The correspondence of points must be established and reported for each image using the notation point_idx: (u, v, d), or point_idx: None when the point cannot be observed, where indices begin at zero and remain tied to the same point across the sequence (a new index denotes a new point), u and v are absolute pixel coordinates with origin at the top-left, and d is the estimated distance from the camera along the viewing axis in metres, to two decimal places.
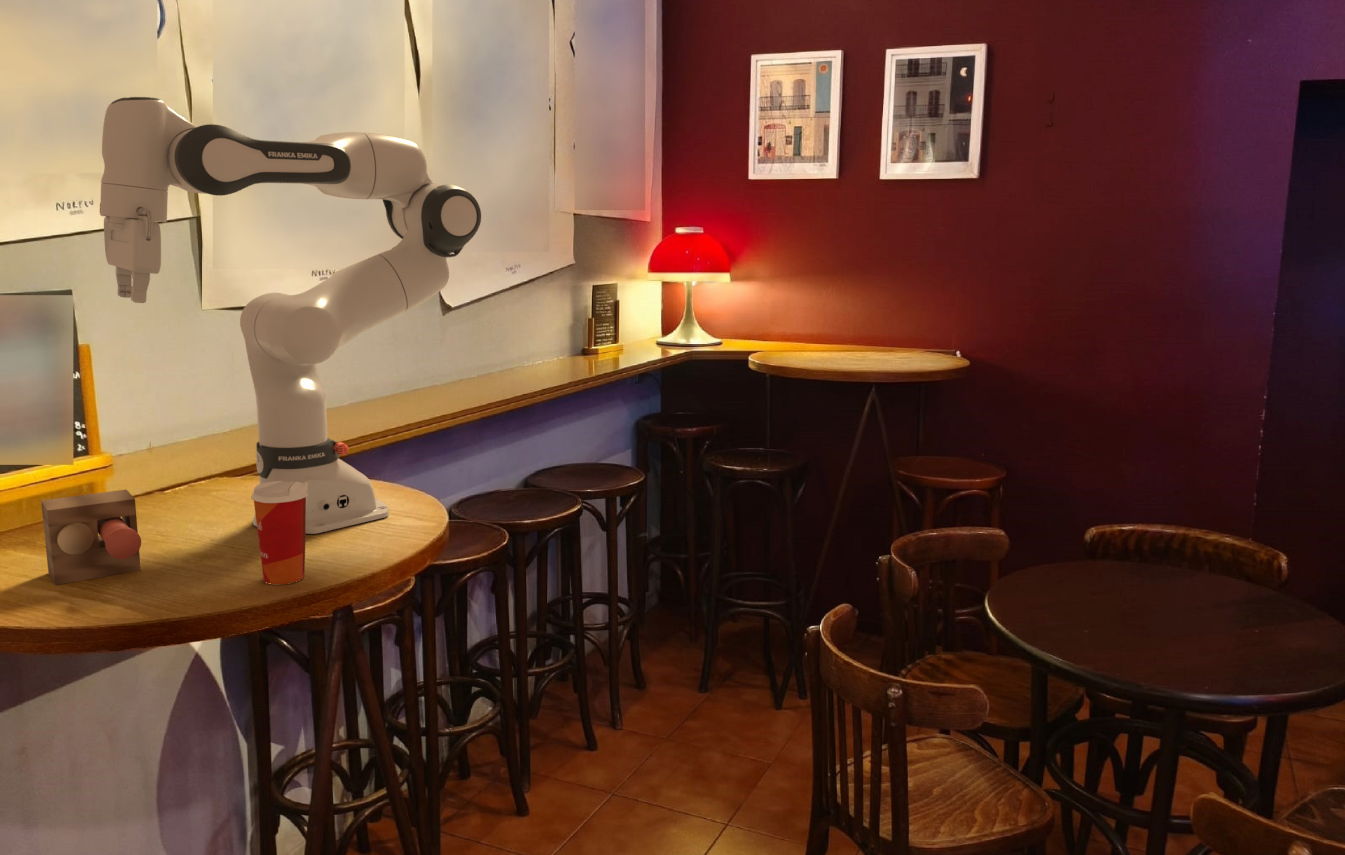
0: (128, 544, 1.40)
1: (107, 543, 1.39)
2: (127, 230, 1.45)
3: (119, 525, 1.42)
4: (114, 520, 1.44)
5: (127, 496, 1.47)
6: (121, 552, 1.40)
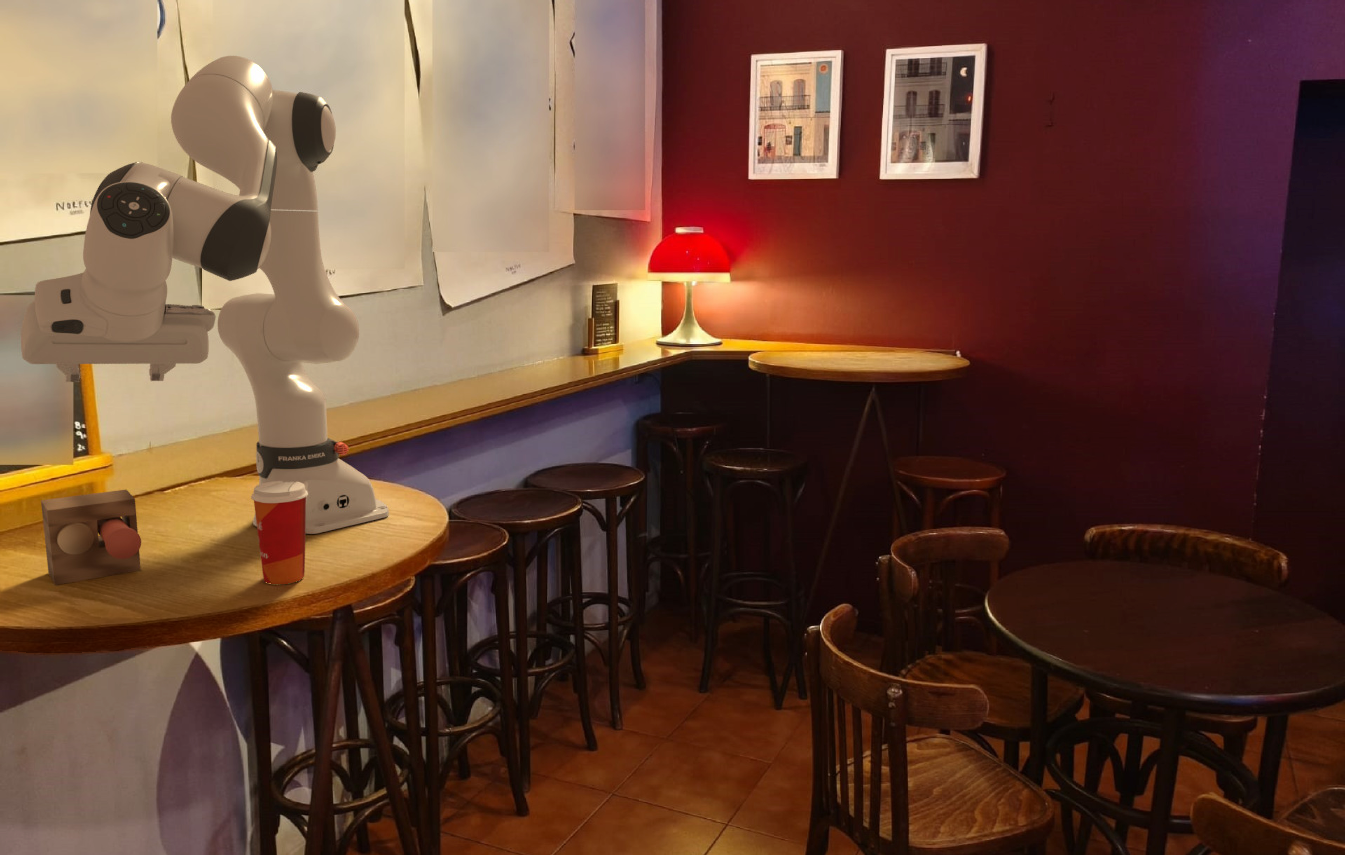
0: (128, 544, 1.40)
1: (107, 543, 1.39)
2: (169, 335, 1.23)
3: (119, 525, 1.42)
4: (114, 520, 1.44)
5: (127, 496, 1.47)
6: (121, 552, 1.40)
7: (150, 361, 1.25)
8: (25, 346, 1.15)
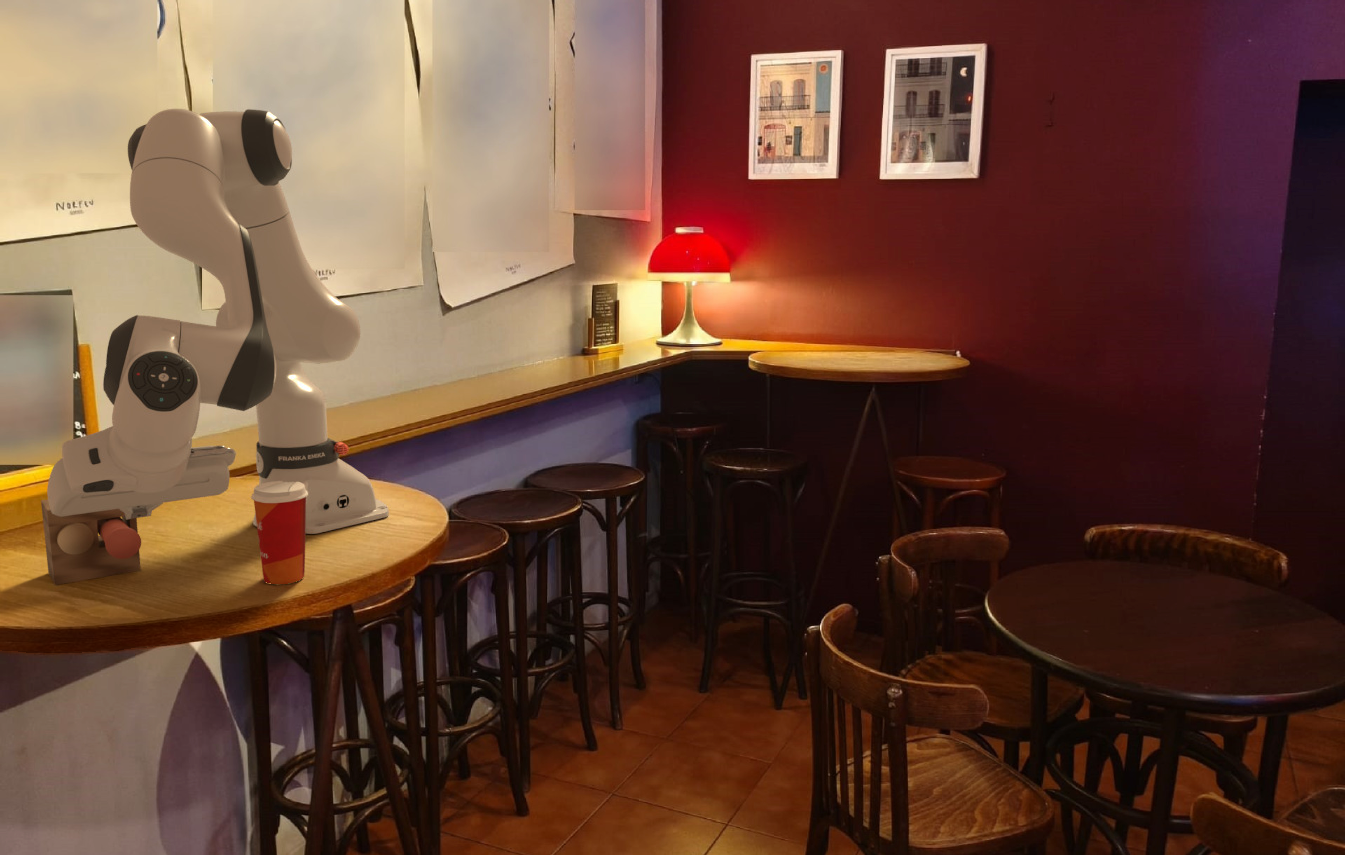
0: (128, 544, 1.40)
1: (107, 543, 1.39)
2: (192, 477, 1.26)
3: (119, 525, 1.42)
4: (114, 520, 1.44)
5: None
6: (121, 552, 1.40)
7: (173, 499, 1.28)
8: (55, 504, 1.18)
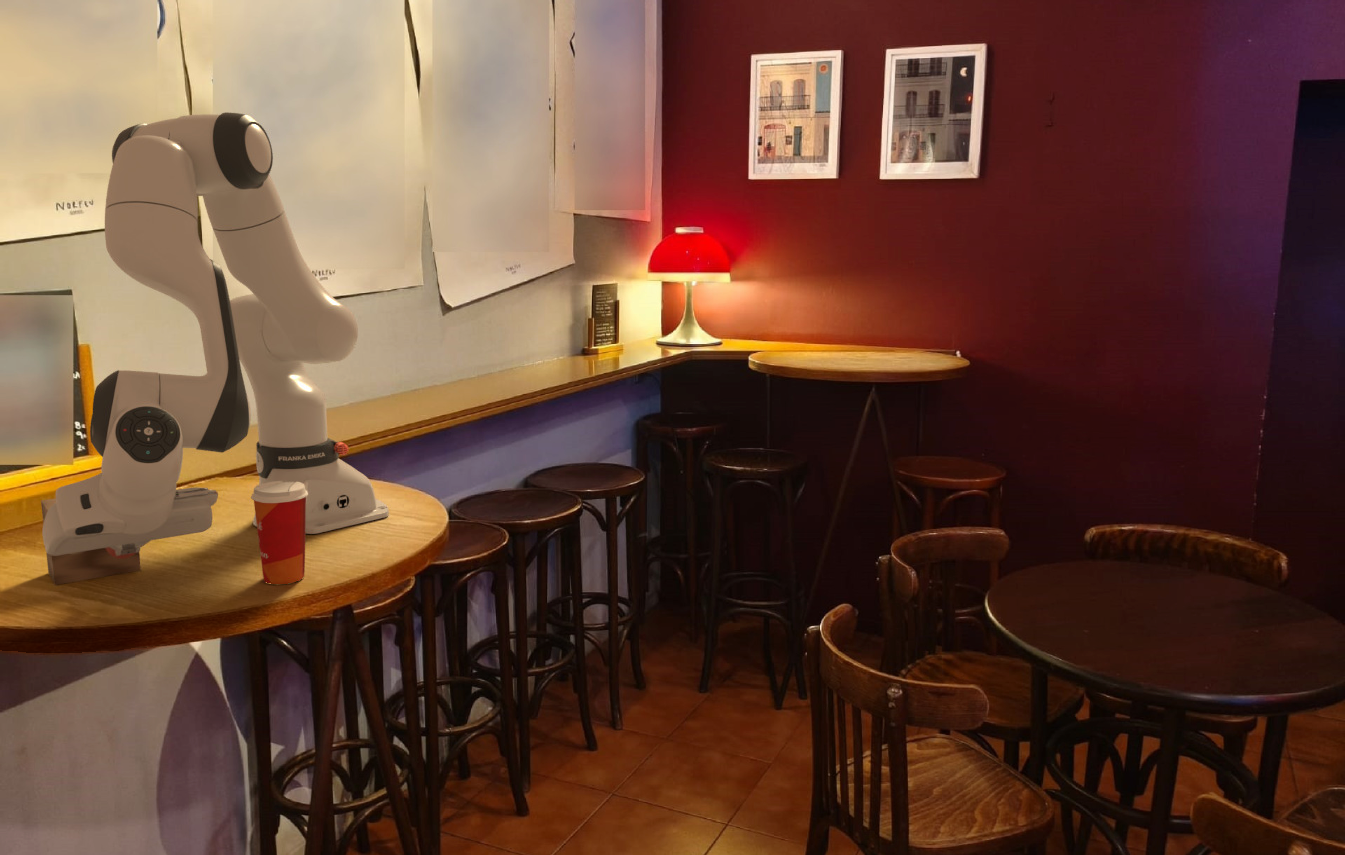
0: None
1: None
2: (177, 517, 1.35)
3: None
4: None
5: None
6: None
7: (160, 537, 1.38)
8: (50, 545, 1.27)
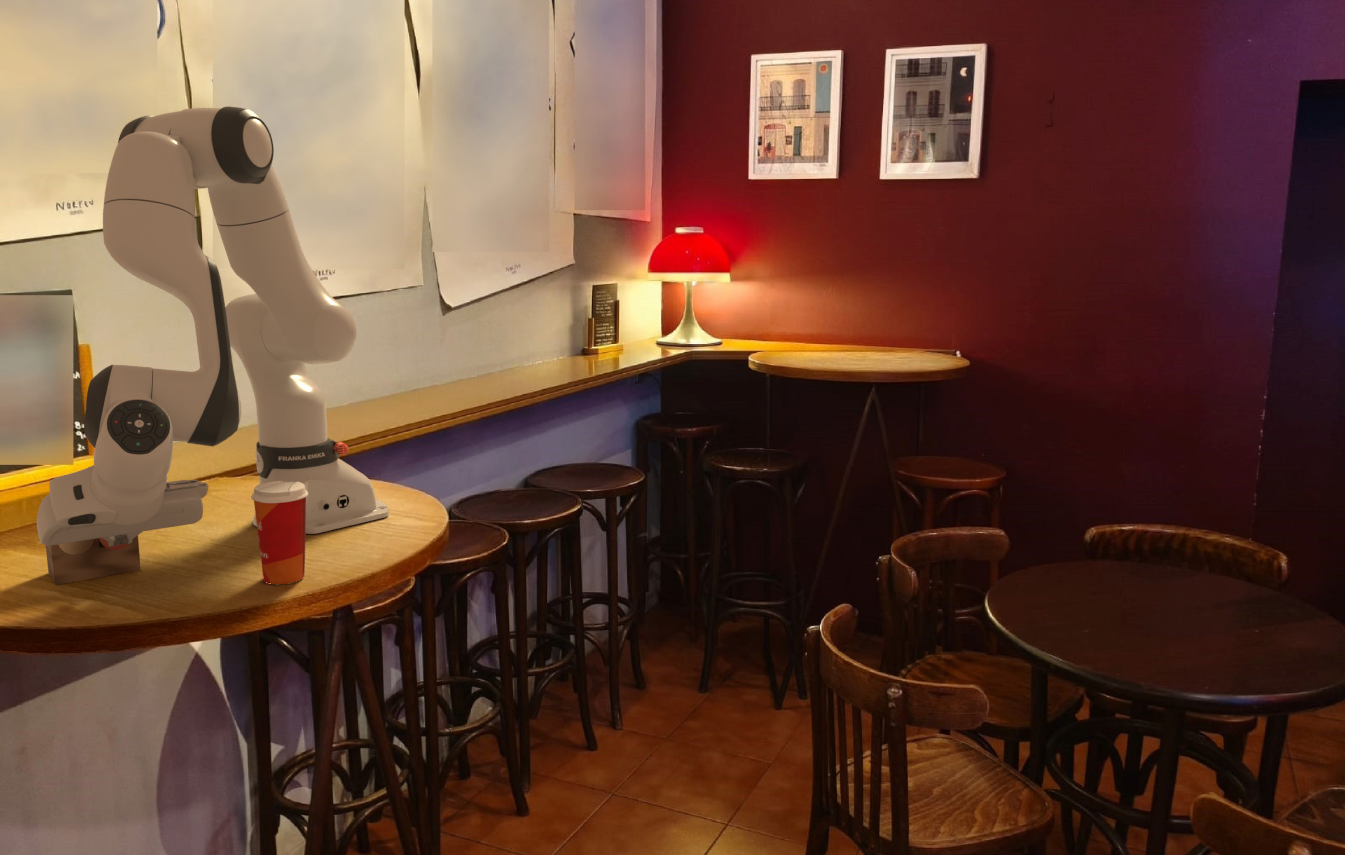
0: None
1: None
2: (168, 509, 1.39)
3: None
4: None
5: None
6: None
7: (152, 528, 1.41)
8: (43, 535, 1.31)
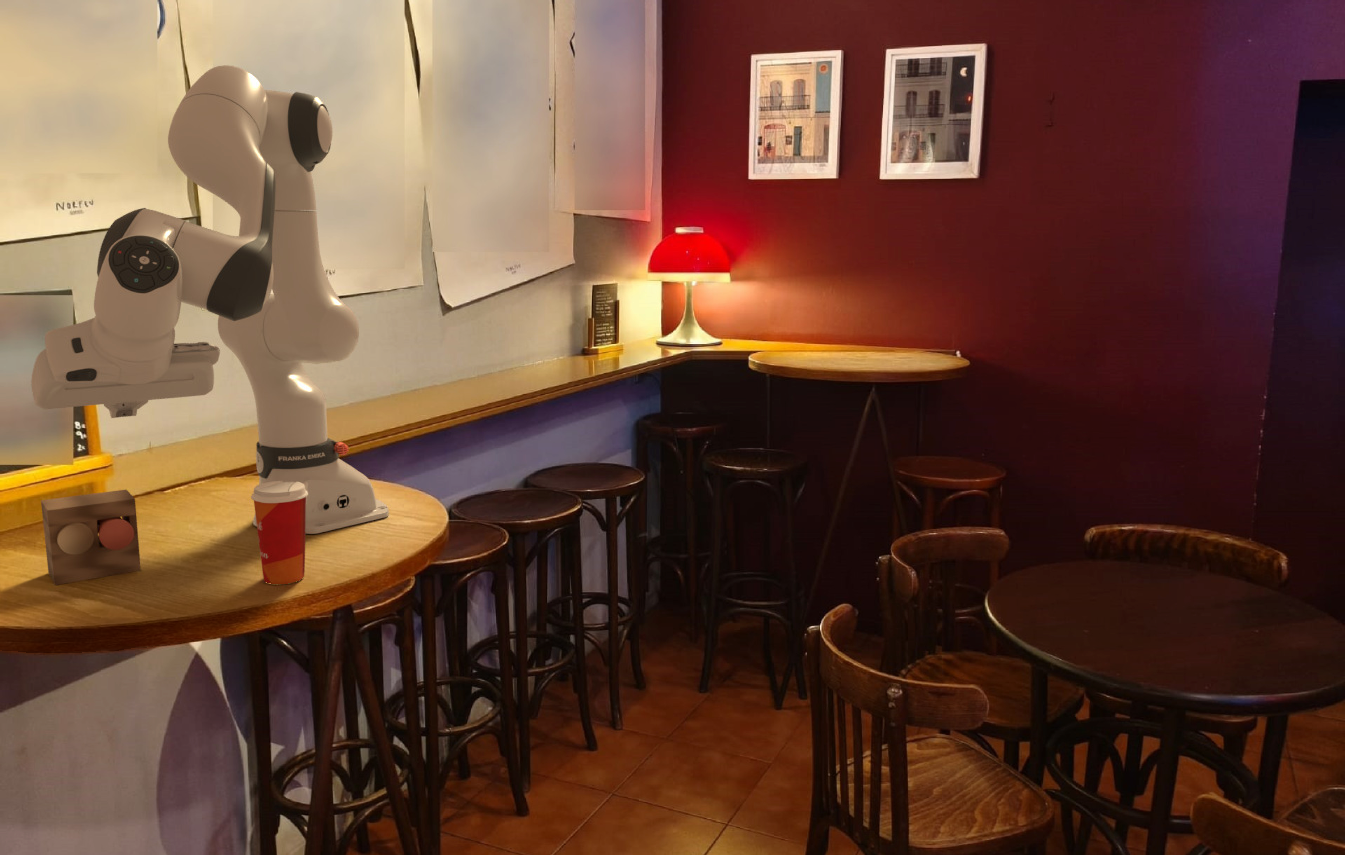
0: (121, 535, 1.44)
1: (101, 534, 1.42)
2: (176, 373, 1.26)
3: None
4: None
5: (127, 496, 1.47)
6: (114, 543, 1.44)
7: (158, 397, 1.28)
8: (39, 394, 1.18)
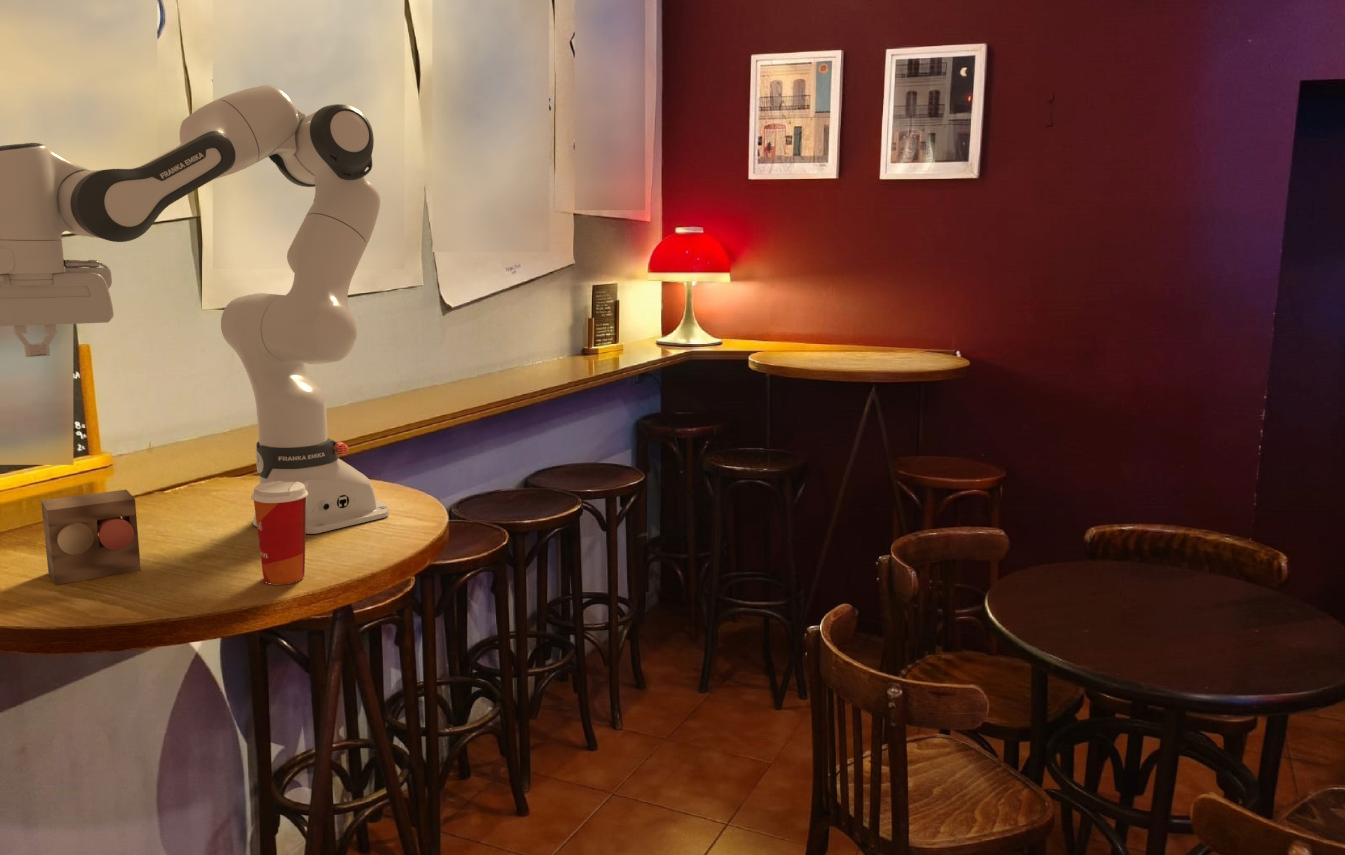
0: (121, 535, 1.44)
1: (101, 534, 1.42)
2: (72, 284, 1.45)
3: None
4: None
5: (127, 496, 1.47)
6: (114, 543, 1.44)
7: (63, 319, 1.45)
8: None
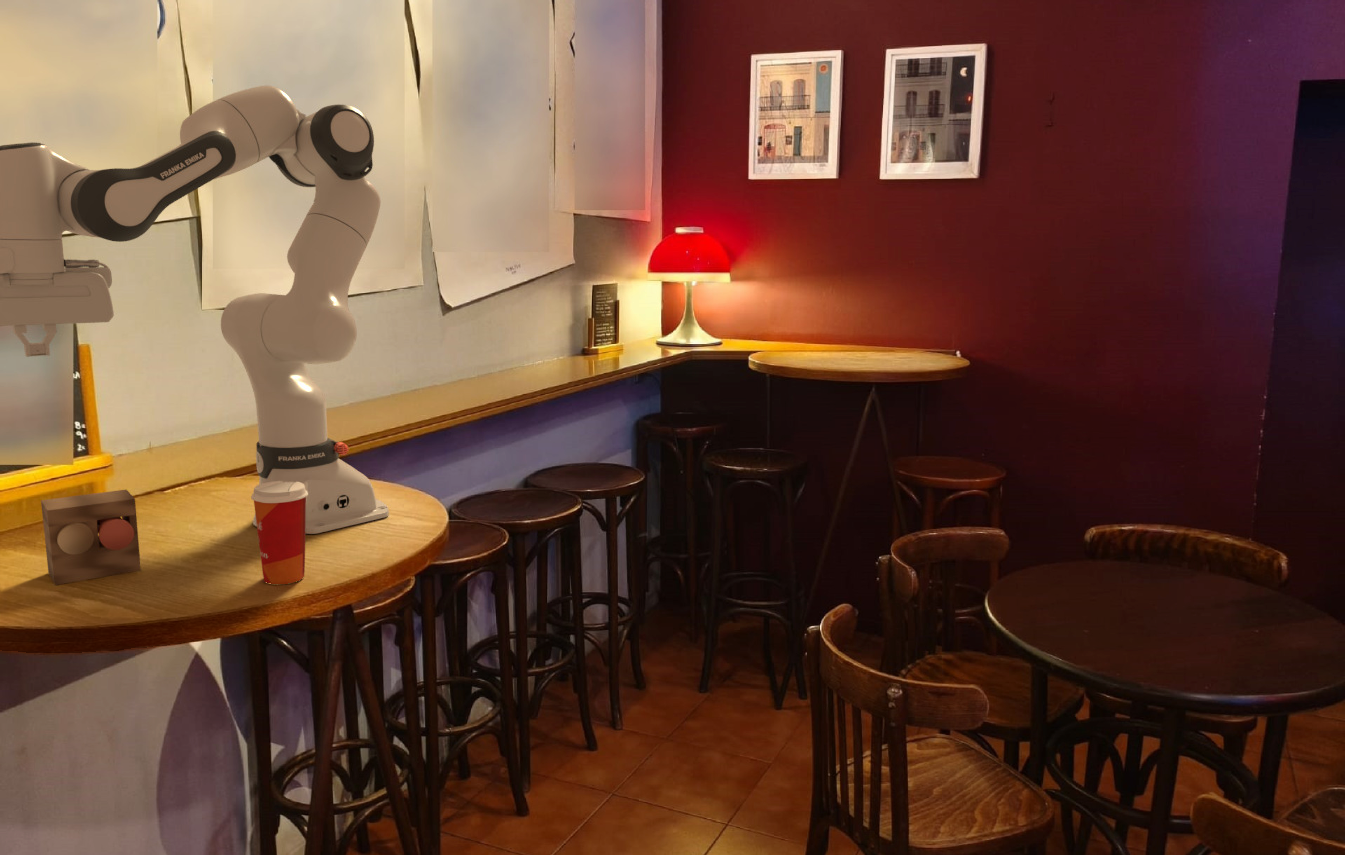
0: (121, 535, 1.44)
1: (101, 534, 1.42)
2: (72, 284, 1.45)
3: None
4: None
5: (127, 496, 1.47)
6: (114, 543, 1.44)
7: (63, 318, 1.45)
8: None
